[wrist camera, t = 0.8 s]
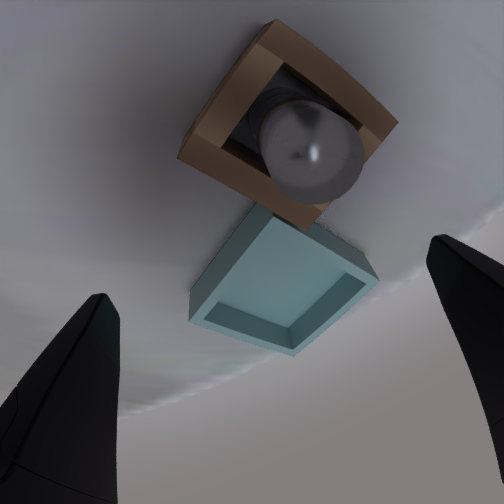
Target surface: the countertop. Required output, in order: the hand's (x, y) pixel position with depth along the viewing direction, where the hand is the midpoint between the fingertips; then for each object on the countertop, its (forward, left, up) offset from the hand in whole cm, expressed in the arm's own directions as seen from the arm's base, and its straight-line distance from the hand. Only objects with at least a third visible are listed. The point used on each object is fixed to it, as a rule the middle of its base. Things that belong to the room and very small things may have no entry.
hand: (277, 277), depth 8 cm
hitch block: (-2, +2, -13) cm, 13 cm away
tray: (+8, +9, -13) cm, 17 cm away
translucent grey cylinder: (-2, +2, -13) cm, 13 cm away
